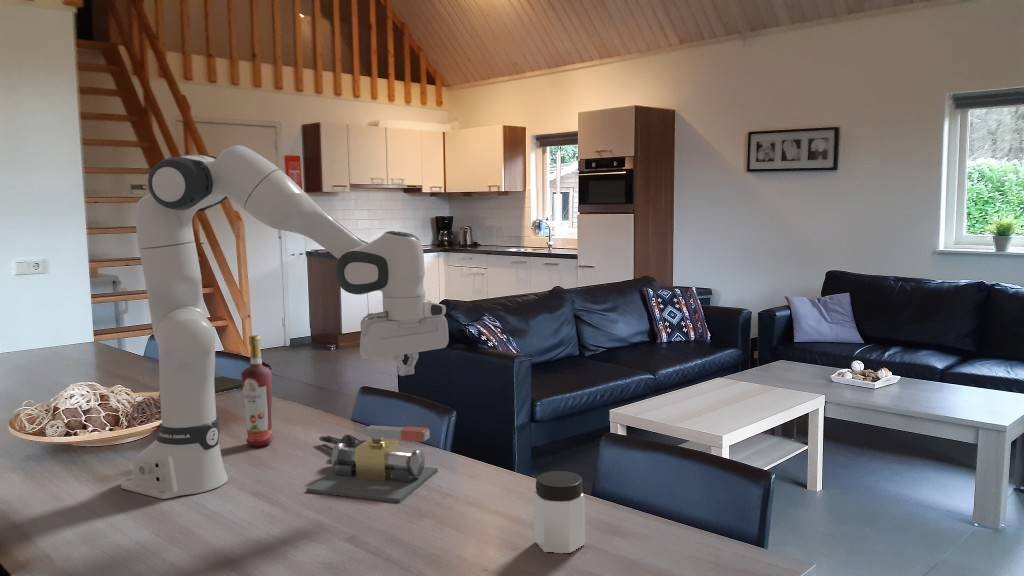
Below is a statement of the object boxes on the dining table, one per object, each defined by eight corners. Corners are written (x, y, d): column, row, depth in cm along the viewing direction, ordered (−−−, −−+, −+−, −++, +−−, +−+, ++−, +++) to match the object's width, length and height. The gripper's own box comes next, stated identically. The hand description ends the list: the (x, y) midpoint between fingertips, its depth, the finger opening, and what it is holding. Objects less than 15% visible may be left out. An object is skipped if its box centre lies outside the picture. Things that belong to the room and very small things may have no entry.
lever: (365, 442, 170) (365, 427, 170) (371, 437, 173) (371, 424, 173) (424, 446, 166) (424, 431, 166) (430, 442, 169) (429, 427, 169)
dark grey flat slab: (160, 396, 252) (160, 389, 252) (223, 382, 271) (222, 376, 270) (189, 403, 243) (188, 396, 242) (251, 388, 261) (251, 381, 261)
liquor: (280, 440, 201) (275, 333, 198) (266, 449, 194) (260, 339, 191) (254, 439, 202) (248, 333, 199) (239, 448, 195) (233, 338, 192)
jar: (556, 529, 144) (555, 466, 142) (592, 541, 138) (592, 476, 137) (525, 546, 137) (524, 480, 135) (563, 559, 132) (562, 491, 130)
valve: (412, 465, 184) (358, 467, 174) (356, 449, 203) (303, 450, 194) (415, 438, 185) (360, 438, 175) (358, 425, 204) (306, 424, 194)
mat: (306, 491, 165) (306, 488, 164) (351, 462, 182) (351, 459, 182) (400, 502, 158) (400, 498, 158) (437, 471, 176) (437, 467, 176)
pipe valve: (330, 475, 172) (328, 443, 171) (346, 465, 178) (344, 433, 177) (412, 484, 165) (411, 450, 165) (426, 473, 172) (425, 440, 171)
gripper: (368, 316, 152) (371, 385, 154) (452, 305, 166) (453, 369, 167) (352, 313, 157) (355, 380, 158) (434, 303, 170) (436, 365, 172)
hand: (406, 374), depth 163 cm, fingers closed
